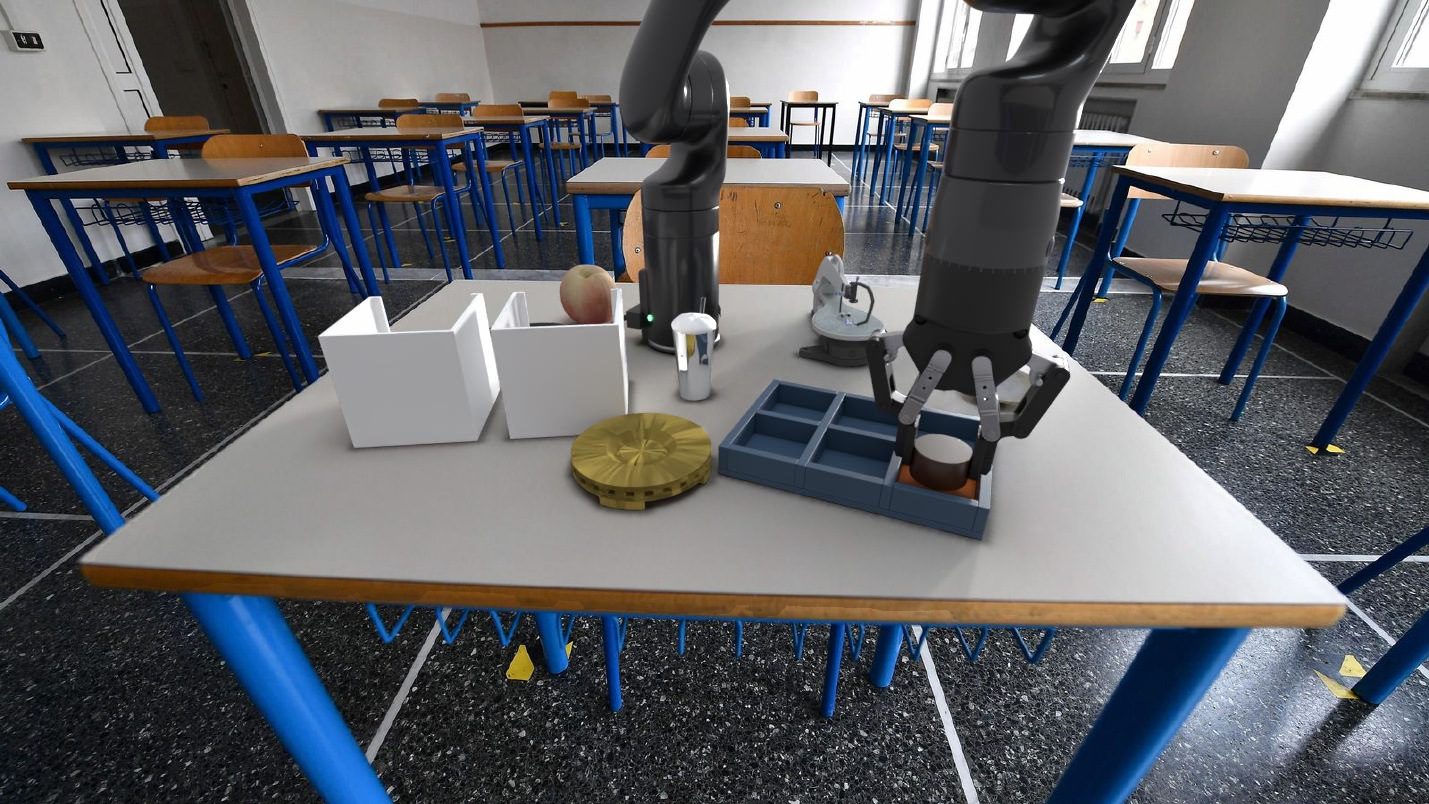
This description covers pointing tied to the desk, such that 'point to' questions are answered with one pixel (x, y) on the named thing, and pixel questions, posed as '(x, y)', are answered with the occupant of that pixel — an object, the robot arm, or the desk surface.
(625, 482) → the gold notched disc
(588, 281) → the fruit
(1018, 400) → the seashell
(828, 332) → the scroll saw
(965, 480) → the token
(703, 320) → the milkshake
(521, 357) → the white open box
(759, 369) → the desk surface
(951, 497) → the grid
